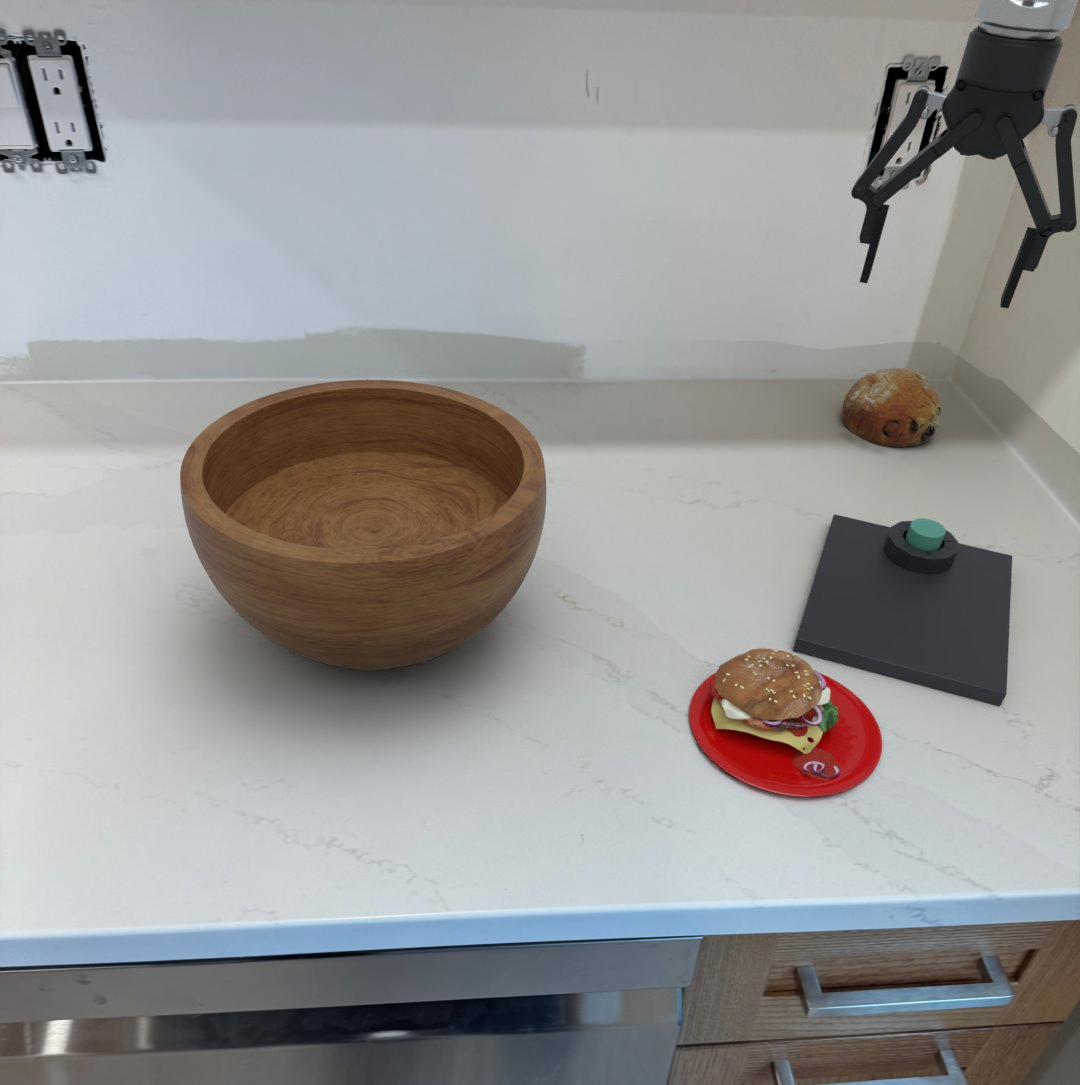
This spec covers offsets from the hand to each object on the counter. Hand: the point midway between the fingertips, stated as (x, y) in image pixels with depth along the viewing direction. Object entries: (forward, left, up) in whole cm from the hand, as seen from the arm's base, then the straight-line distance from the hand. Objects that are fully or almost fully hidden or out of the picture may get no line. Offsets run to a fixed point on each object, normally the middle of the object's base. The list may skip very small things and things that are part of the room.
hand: (933, 291), depth 95 cm
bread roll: (0, 0, -15) cm, 15 cm away
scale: (-5, +33, -15) cm, 36 cm away
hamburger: (+2, +52, -15) cm, 54 cm away
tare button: (-5, +27, -12) cm, 30 cm away
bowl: (+34, +54, -15) cm, 66 cm away
